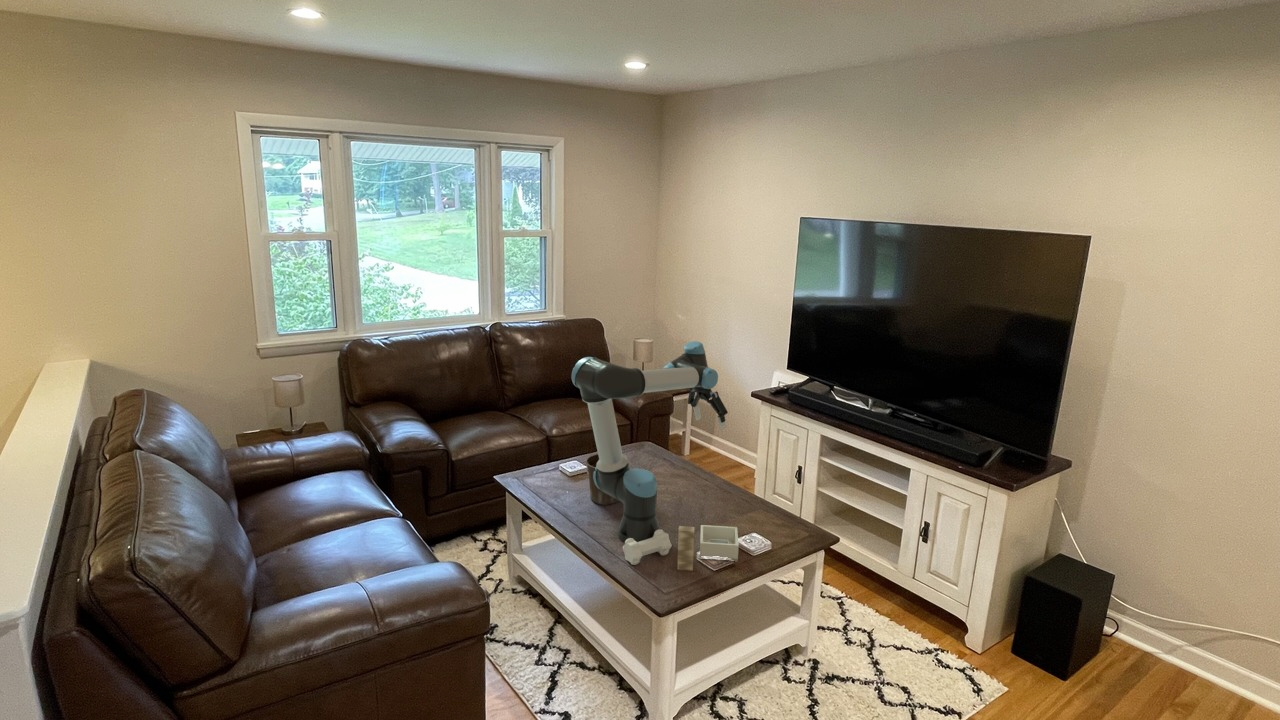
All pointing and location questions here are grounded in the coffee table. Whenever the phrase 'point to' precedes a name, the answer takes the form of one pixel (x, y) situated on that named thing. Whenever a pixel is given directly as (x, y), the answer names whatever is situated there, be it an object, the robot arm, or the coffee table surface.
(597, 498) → the plant pot
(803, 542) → the coffee table surface
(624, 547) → the dog bone
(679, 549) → the wooden wick block
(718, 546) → the open rectangular box
